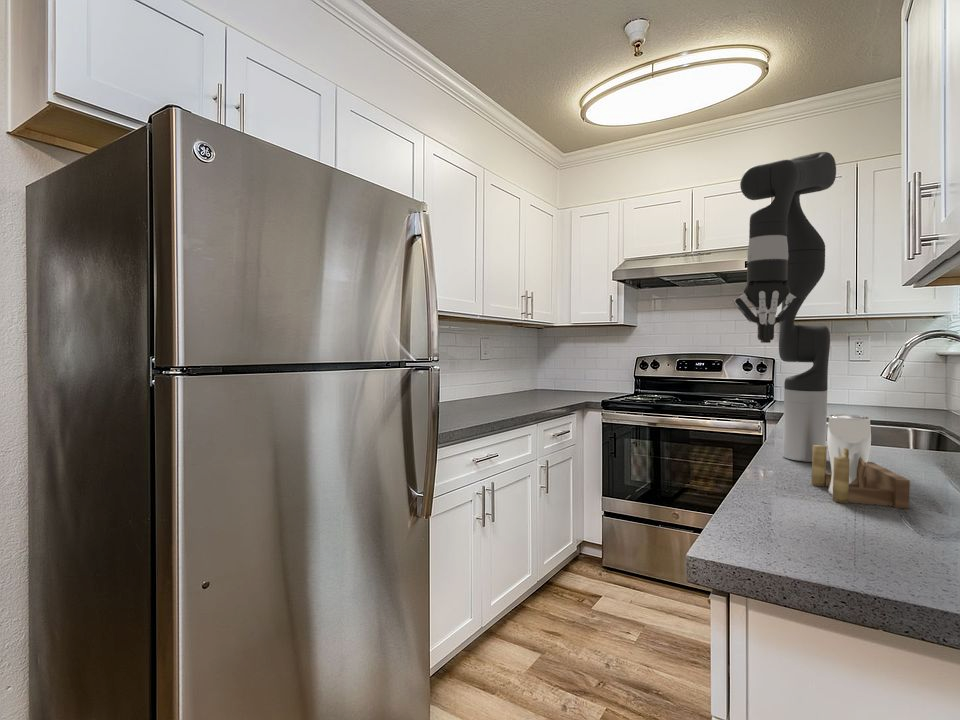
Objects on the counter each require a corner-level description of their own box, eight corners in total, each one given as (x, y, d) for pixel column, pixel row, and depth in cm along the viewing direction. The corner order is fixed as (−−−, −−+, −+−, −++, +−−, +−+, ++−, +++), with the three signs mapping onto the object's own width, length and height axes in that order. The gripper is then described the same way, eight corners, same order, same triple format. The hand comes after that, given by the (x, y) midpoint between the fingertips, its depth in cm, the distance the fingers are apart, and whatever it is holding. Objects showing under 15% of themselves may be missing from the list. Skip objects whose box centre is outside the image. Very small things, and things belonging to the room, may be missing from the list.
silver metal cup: (824, 487, 109) (826, 413, 109) (866, 492, 106) (869, 415, 105) (826, 496, 103) (828, 417, 102) (871, 501, 100) (874, 420, 99)
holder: (809, 482, 113) (810, 444, 113) (871, 486, 110) (872, 447, 110) (836, 503, 98) (837, 459, 98) (908, 508, 96) (910, 463, 95)
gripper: (797, 261, 116) (795, 342, 117) (729, 263, 119) (728, 342, 120) (808, 256, 109) (806, 342, 109) (736, 258, 112) (734, 342, 113)
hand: (765, 342), depth 115 cm, fingers closed
